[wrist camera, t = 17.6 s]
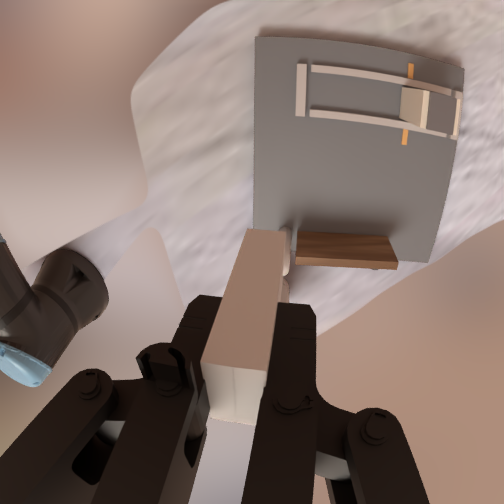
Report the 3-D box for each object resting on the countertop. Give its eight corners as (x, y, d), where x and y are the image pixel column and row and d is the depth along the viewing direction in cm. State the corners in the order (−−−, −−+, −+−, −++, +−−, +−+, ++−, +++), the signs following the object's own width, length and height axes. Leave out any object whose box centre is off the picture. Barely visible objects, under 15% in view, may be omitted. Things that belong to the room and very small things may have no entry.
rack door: (297, 231, 39) (295, 256, 34) (387, 236, 37) (398, 262, 32) (296, 247, 40) (294, 275, 35) (384, 252, 38) (394, 279, 33)
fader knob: (399, 117, 30) (421, 128, 24) (401, 87, 28) (425, 90, 22) (430, 124, 29) (457, 136, 23) (433, 94, 27) (462, 100, 21)
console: (255, 240, 43) (242, 284, 34) (257, 38, 29) (241, 24, 21) (423, 255, 40) (446, 299, 31) (457, 68, 26) (500, 70, 18)
